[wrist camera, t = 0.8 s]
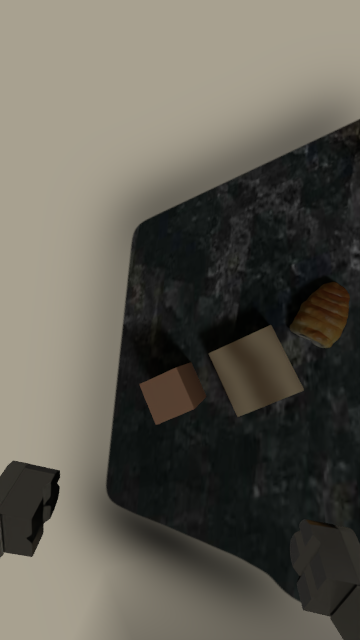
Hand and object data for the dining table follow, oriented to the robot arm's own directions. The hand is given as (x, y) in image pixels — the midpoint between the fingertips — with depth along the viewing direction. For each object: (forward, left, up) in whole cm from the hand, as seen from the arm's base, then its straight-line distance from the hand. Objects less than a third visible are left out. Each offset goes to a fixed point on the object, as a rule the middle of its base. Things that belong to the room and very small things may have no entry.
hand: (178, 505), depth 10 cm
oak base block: (-2, 0, -39) cm, 39 cm away
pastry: (-14, -3, -39) cm, 42 cm away
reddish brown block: (+10, -2, -39) cm, 40 cm away
